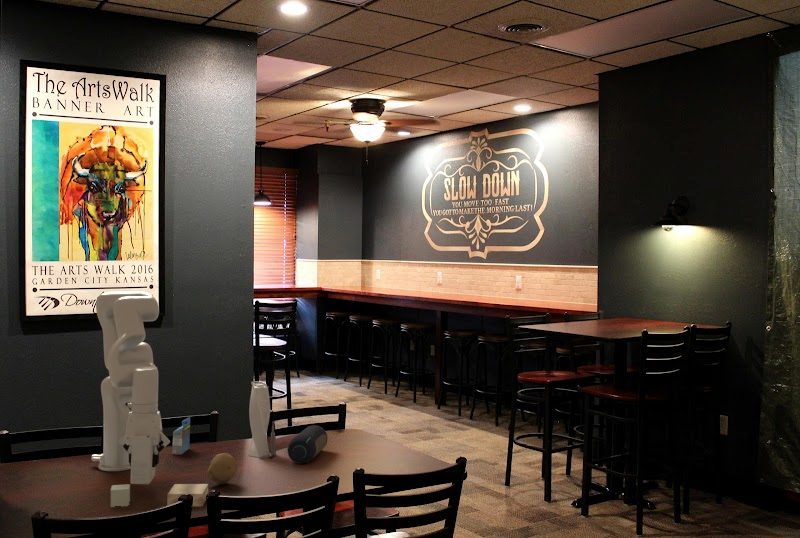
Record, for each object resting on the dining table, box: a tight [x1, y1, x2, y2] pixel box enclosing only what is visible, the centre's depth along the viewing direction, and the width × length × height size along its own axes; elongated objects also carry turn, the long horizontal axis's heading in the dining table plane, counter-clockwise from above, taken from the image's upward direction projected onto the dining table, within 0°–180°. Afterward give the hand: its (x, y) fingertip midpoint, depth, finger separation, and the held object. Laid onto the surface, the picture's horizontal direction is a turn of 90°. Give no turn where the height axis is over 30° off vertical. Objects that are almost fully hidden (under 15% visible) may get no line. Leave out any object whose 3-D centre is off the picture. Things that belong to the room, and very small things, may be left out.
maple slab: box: [166, 483, 209, 507], centre depth 233 cm, size 10×10×4 cm
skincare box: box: [130, 435, 156, 485], centre depth 241 cm, size 8×6×15 cm
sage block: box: [110, 483, 131, 508], centre depth 230 cm, size 5×5×5 cm
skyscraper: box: [248, 380, 277, 460], centre depth 287 cm, size 8×8×28 cm
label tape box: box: [171, 416, 191, 455], centre depth 292 cm, size 9×4×12 cm, turn 178°
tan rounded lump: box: [206, 452, 238, 485], centre depth 250 cm, size 9×9×10 cm
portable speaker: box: [287, 424, 328, 465], centre depth 286 cm, size 25×10×10 cm, turn 171°
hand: (143, 465), depth 241 cm, fingers closed on skincare box, 6 cm apart
